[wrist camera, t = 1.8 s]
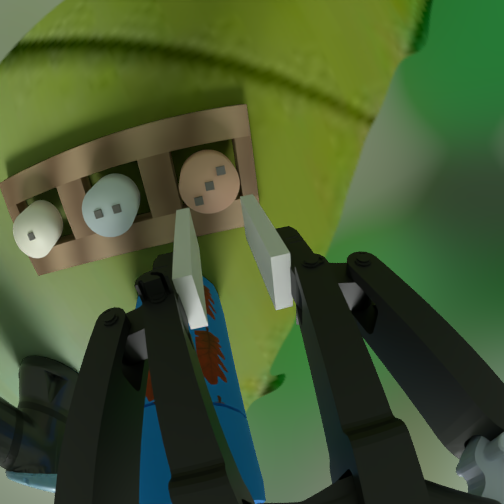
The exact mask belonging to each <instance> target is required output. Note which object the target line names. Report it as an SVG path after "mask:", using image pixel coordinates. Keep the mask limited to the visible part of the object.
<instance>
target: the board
mask: <svg viewBox="0 0 504 504" xmlns="http://www.w3.org/2000/svg"><path fill="white" fill-rule="evenodd" d="M228 139H232V143H233V150H234V157H235V163H236V170H237V173H238V175H239V179H240V188H239V190H240V192H238V195H237V197H236V199H235V200H234V201H233V203H232V204H231V205H230V206H229V207H227V208H226V209H224V210H222V211H220V212H217V213H212V214H205V213H200V212H197V211H194V210H193V209H191V208H190V207H188V206H187V205H186V204H183V203H182V199H181V195H180V191H179V186H178V182H177V178H176V173H175V169H174V164H173V160H172V155H171V151H174V150H178V149H183V148H187V147H192V146H197V145H201V144H206V143H211V142H217V141H222V140H228ZM136 160H137V162H138V166H139V170H140V174H141V178H142V182H143V185H144V189H145V193H146V196H147V200H148V203H149V207H150V210H151V212H148V213H144V214H140V215H136V216H135V219H134V222H133V224H132V225H131V227H130V228H129V229H128V230H127V231H126V232H125V233H123V234H122V235H119V236H116V237H105V236H101V235H99V234H97V233H95V232H94V231H92V230H91V229H90V228H89V227H88V225H87V224H86V222H85V220H84V218H83V214H82V203H83V199H84V197H85V195H86V194H87V192H88V191H89V190H90V189H91V188H92V187H91V184H90V181H89V178H88V175H91V174H94V173H97V172H100V171H103V170H106V169H109V168H112V167H115V166H119V165H122V164H125V163H129V162H132V161H136ZM55 187H56V188H57V191H58V194H59V197H60V200H61V203H62V205H63V208H64V211H65V213H66V216H67V219H68V221H69V224H70V226H71V229H72V231H73V234H70V235H67V236H63V237H60V238H59V239H58V241H57V242H56V243H55V245H54V246H53V248H52V249H51V250H50V252H49V253H48V254H47V255H46V256H45V257H42V258H32V257H30V256H29V258H30V260H31V262H32V264H33V266H34V268H35V270H36V272H37V274H38V276H40V275H43V274H47V273H51V272H54V271H58V270H62V269H66V268H69V267H73V266H77V265H81V264H85V263H89V262H93V261H97V260H101V259H104V258H108V257H113V256H117V255H121V254H125V253H129V252H133V251H137V250H141V249H145V248H150V247H154V246H158V245H162V244H167V243H171V242H174V234H175V220H176V210H180V209H184V208H190V213H191V217H192V221H193V225H194V229H195V233H196V237H198V236H202V235H207V234H211V233H216V232H220V231H225V230H230V229H234V228H239V227H244V220H243V214H242V207H241V201H240V196H245V195H251V194H253V195H254V197H255V198H256V200H257V201H258V203H259V197H258V189H257V181H256V173H255V165H254V157H253V149H252V142H251V134H250V126H249V119H248V112H247V104H239V105H232V106H225V107H219V108H213V109H208V110H202V111H197V112H192V113H188V114H183V115H178V116H174V117H170V118H166V119H161V120H158V121H154V122H150V123H146V124H143V125H139V126H136V127H132V128H129V129H125V130H122V131H119V132H116V133H113V134H110V135H107V136H104V137H101V138H98V139H95V140H92V141H90V142H87V143H84V144H82V145H79V146H76V147H74V148H71V149H69V150H66V151H64V152H62V153H59V154H57V155H55V156H52V157H50V158H48V159H46V160H43V161H41V162H39V163H37V164H35V165H33V166H31V167H29V168H27V169H25V170H23V171H21V172H19V173H17V174H15V175H13V176H11V177H9V178H7V179H6V180H4V181H3V182H1V183H0V188H1V191H2V194H3V197H4V200H5V203H6V205H7V208H8V211H9V213H10V216H11V218H12V221H13V223H14V221H15V219H16V218H17V216H18V215H19V214H21V213H22V212H23V211H24V210H25V209H26V208H27V207H28V206H27V204H26V201H25V200H27V199H29V198H31V197H34V196H36V195H38V194H41V193H43V192H46V191H48V190H50V189H53V188H55Z"/></svg>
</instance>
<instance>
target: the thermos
mask: <svg viewBox="0 0 504 504" xmlns="http://www.w3.org/2000/svg"><path fill="white" fill-rule="evenodd" d="M202 278H203V287H204V296H205V304H206V312H207V319H208V326H205V327H200V328H196V329H191V328H190V325H189V323H188V326H189V332H190V334H191V336H192V340H193V343H194V346H195V350H196V353H197V356H198V360H199V363H200V366H201V369H202V372H203V376H204V379H205V382H206V385H207V388H208V391H209V394H210V397H211V400H212V402H213V405H214V408H215V411H216V414H217V417H218V419H219V422H220V425H221V427H222V430H223V433H224V435H225V438H226V441H227V443H228V446H229V448H230V451H231V453H232V456H233V458H234V461H235V463H236V465H237V468H238V470H239V472H240V475H241V477H242V479H243V481H244V483H245V485H246V487H247V488H248V490H249V492H250V494H251V496H252V498H253V500H254V502H255V504H258V503H264V502H265V501H266V499H265V491H264V484H263V479H262V476H261V472H260V468H259V464H258V461H257V457H256V453H255V449H254V445H253V441H252V437H251V434H250V429H249V426H248V421H247V419H246V418H247V417H246V413H245V409H244V405H243V400H242V396H241V392H240V388H239V383H238V379H237V374H236V370H235V365H234V361H233V356H232V351H231V347H230V342H229V337H228V332H227V327H226V323H225V318H224V313H223V310H222V306H221V303H220V299H219V296H218V293H217V291H216V289H215V287H214V285H213V284H212V283H211V282H209V281H208V280H207V279H206V278H205V277H204V276H202ZM141 305H142V301H141V299H140V296H138V300H137V304H136V308H135V309H137V308H139V307H140V306H141ZM170 479H171V472H170V468H169V464H168V460H167V456H166V453H165V448H164V444H163V440H162V436H161V431H160V427H159V422H158V417H157V412H156V407H155V401H154V396H153V390H152V384H151V377H150V371H149V372H148V379H147V387H146V396H145V405H144V415H143V426H142V439H141V455H140V479H139V504H172V502H171V499H170V495H169V490H168V483H169V481H170Z"/></svg>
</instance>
